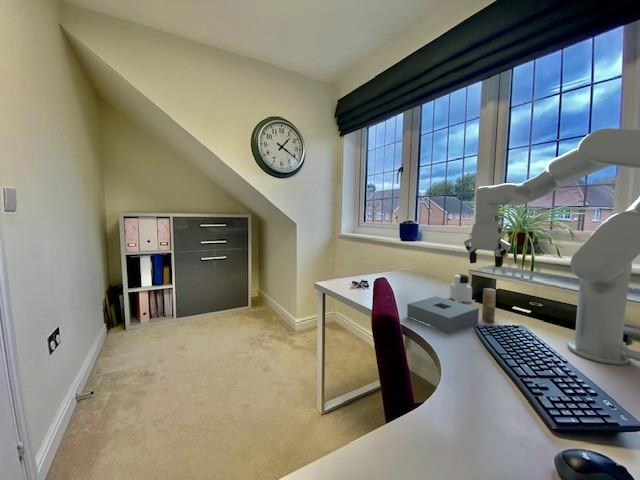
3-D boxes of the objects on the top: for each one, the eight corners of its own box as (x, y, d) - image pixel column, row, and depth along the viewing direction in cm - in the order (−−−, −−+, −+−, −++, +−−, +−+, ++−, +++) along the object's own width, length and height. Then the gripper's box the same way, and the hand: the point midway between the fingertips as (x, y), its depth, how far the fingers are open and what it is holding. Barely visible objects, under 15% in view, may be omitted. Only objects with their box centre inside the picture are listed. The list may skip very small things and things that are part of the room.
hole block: (478, 322, 103) (478, 308, 103) (449, 333, 94) (449, 318, 93) (435, 308, 118) (436, 296, 118) (407, 317, 109) (407, 303, 108)
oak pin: (496, 321, 104) (497, 290, 103) (490, 323, 102) (492, 291, 101) (485, 317, 108) (486, 287, 107) (479, 319, 106) (481, 289, 104)
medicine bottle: (465, 297, 133) (466, 273, 132) (471, 302, 126) (472, 276, 125) (449, 297, 134) (450, 273, 133) (455, 302, 127) (456, 276, 125)
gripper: (517, 219, 97) (515, 267, 99) (471, 219, 113) (470, 261, 114) (505, 220, 94) (503, 269, 95) (459, 219, 109) (458, 262, 111)
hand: (485, 264), depth 105 cm, fingers open, 9 cm apart
